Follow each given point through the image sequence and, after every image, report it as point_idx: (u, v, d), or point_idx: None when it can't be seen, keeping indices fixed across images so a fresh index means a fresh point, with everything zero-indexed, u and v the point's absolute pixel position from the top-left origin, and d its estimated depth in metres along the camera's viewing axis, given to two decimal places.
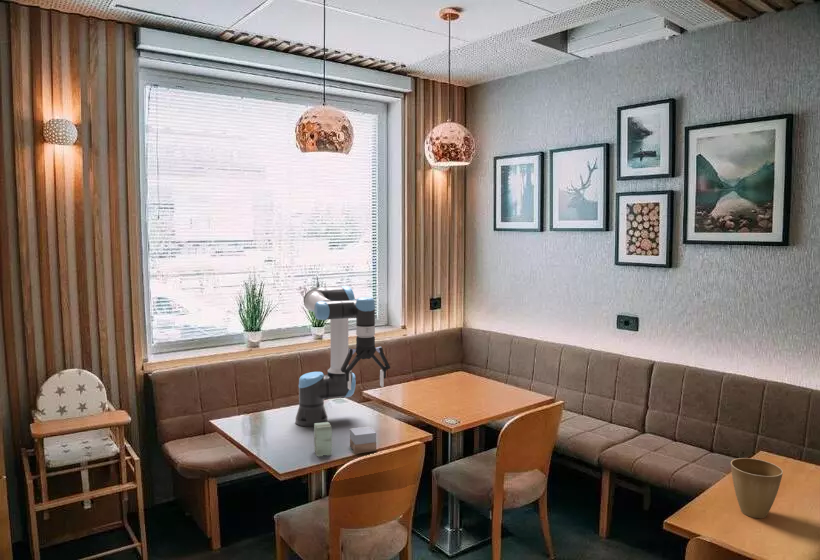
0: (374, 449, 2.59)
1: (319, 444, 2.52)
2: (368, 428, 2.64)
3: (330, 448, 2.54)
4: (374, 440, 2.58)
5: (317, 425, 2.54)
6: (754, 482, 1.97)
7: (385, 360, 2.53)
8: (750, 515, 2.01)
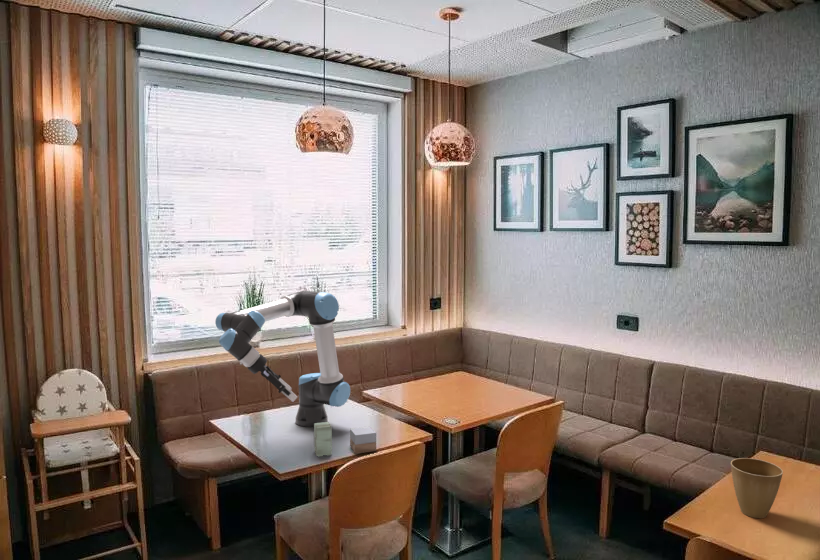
0: (374, 449, 2.59)
1: (319, 444, 2.52)
2: (369, 428, 2.64)
3: (330, 448, 2.54)
4: (374, 440, 2.58)
5: (317, 425, 2.54)
6: (754, 482, 1.97)
7: (273, 384, 2.38)
8: (750, 515, 2.01)
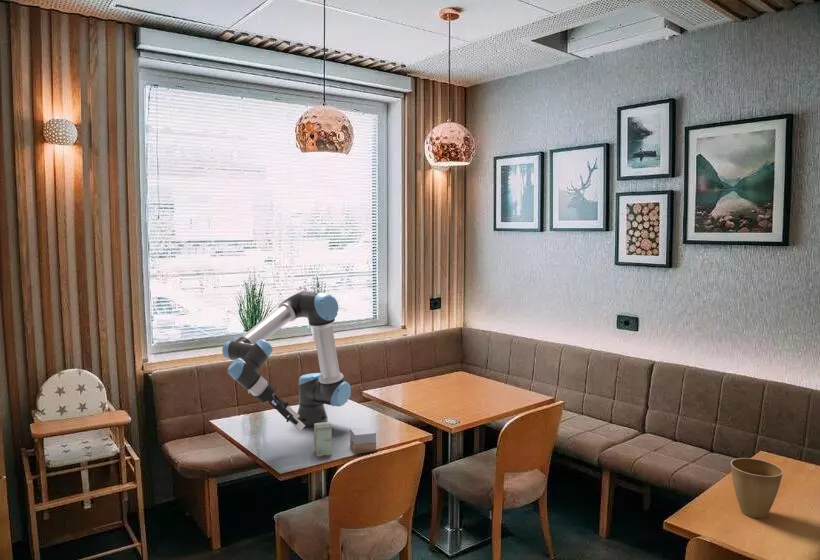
0: (374, 449, 2.58)
1: (319, 444, 2.52)
2: (369, 428, 2.64)
3: (330, 448, 2.54)
4: (374, 440, 2.58)
5: (317, 425, 2.54)
6: (754, 482, 1.97)
7: (281, 414, 2.40)
8: (750, 515, 2.01)
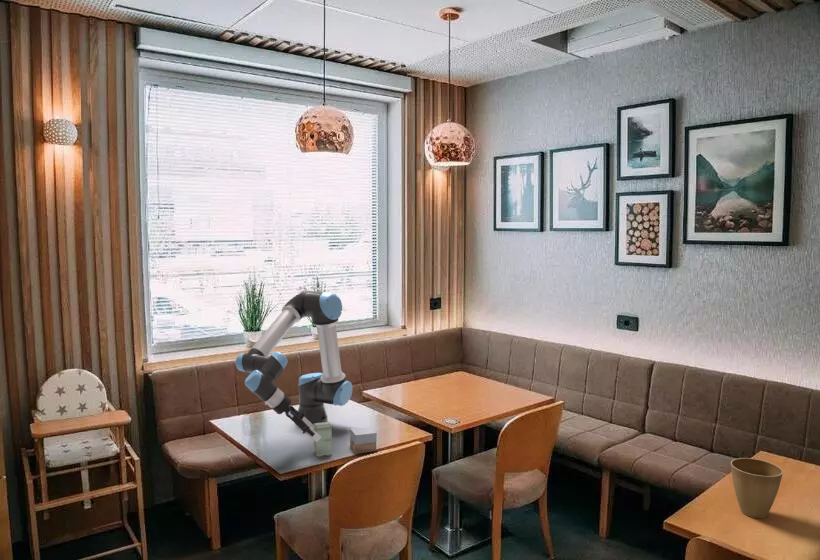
0: (374, 449, 2.58)
1: (319, 444, 2.52)
2: (369, 428, 2.64)
3: (330, 448, 2.54)
4: (375, 440, 2.58)
5: (317, 425, 2.54)
6: (754, 482, 1.97)
7: (297, 425, 2.43)
8: (750, 515, 2.01)
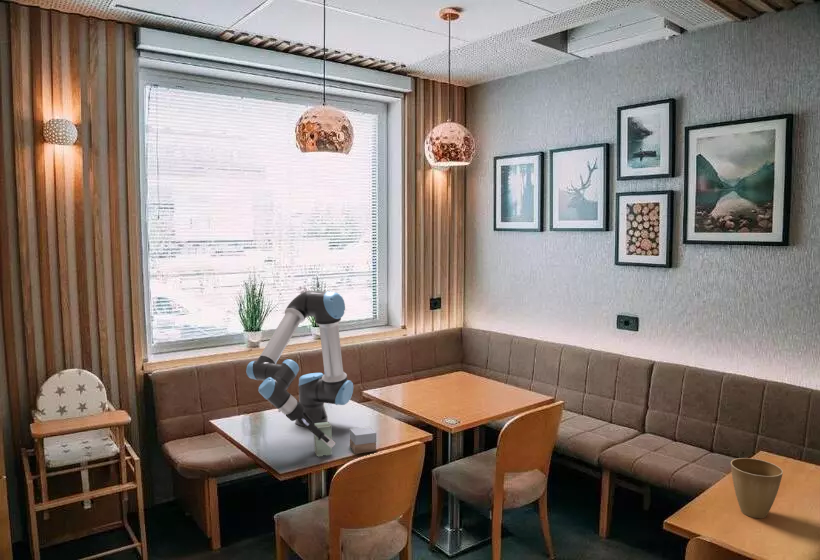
0: (374, 449, 2.58)
1: (319, 444, 2.52)
2: (368, 428, 2.64)
3: (330, 448, 2.54)
4: (374, 440, 2.58)
5: (317, 425, 2.54)
6: (754, 482, 1.97)
7: (313, 433, 2.48)
8: (750, 515, 2.01)
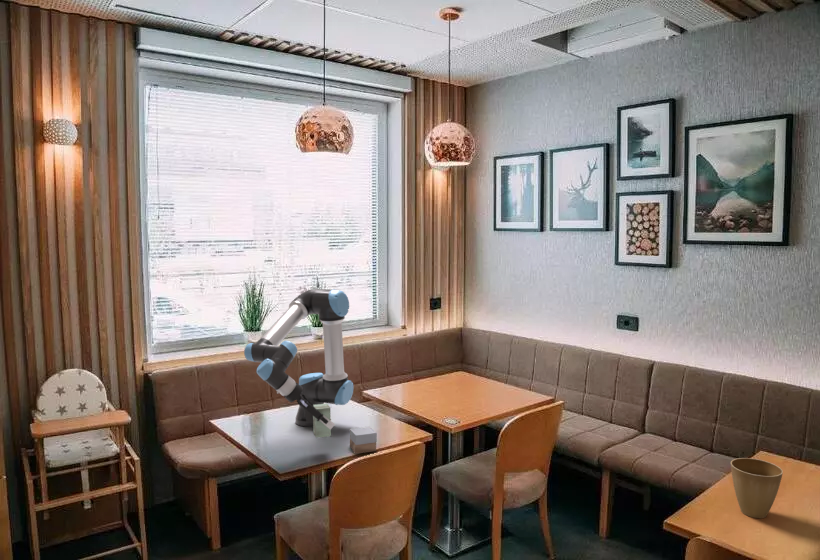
0: (374, 449, 2.58)
1: (318, 426, 2.51)
2: (368, 428, 2.64)
3: (329, 429, 2.53)
4: (375, 440, 2.58)
5: (316, 406, 2.53)
6: (754, 482, 1.97)
7: (311, 414, 2.46)
8: (750, 515, 2.01)
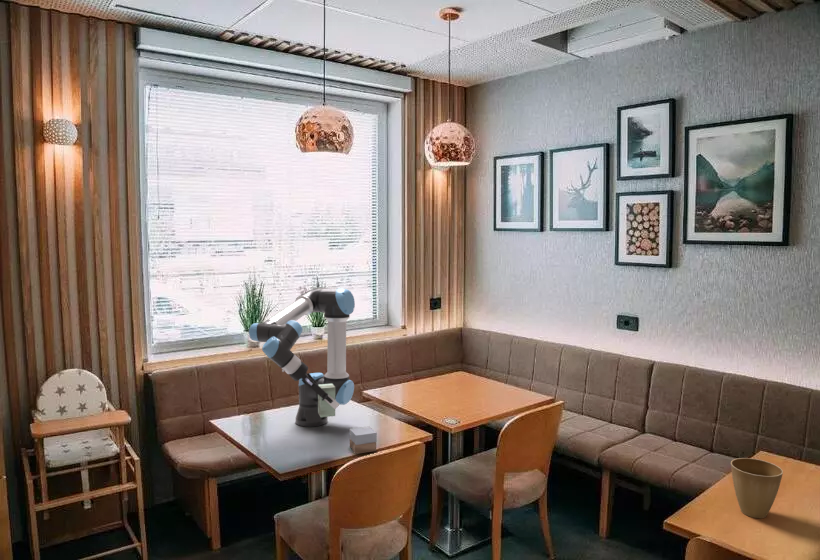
0: (374, 449, 2.58)
1: (323, 405, 2.51)
2: (368, 428, 2.64)
3: (334, 409, 2.52)
4: (375, 440, 2.59)
5: (321, 386, 2.53)
6: (754, 482, 1.97)
7: (316, 392, 2.46)
8: (750, 515, 2.01)
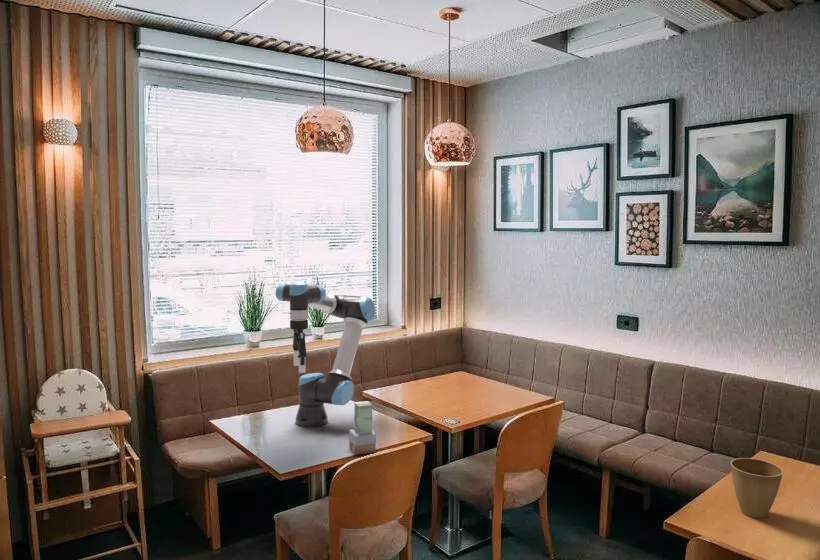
0: (373, 450, 2.57)
1: (360, 423, 2.56)
2: None
3: (370, 426, 2.58)
4: (374, 441, 2.57)
5: (358, 404, 2.58)
6: (754, 482, 1.97)
7: (299, 347, 2.55)
8: (750, 515, 2.01)
